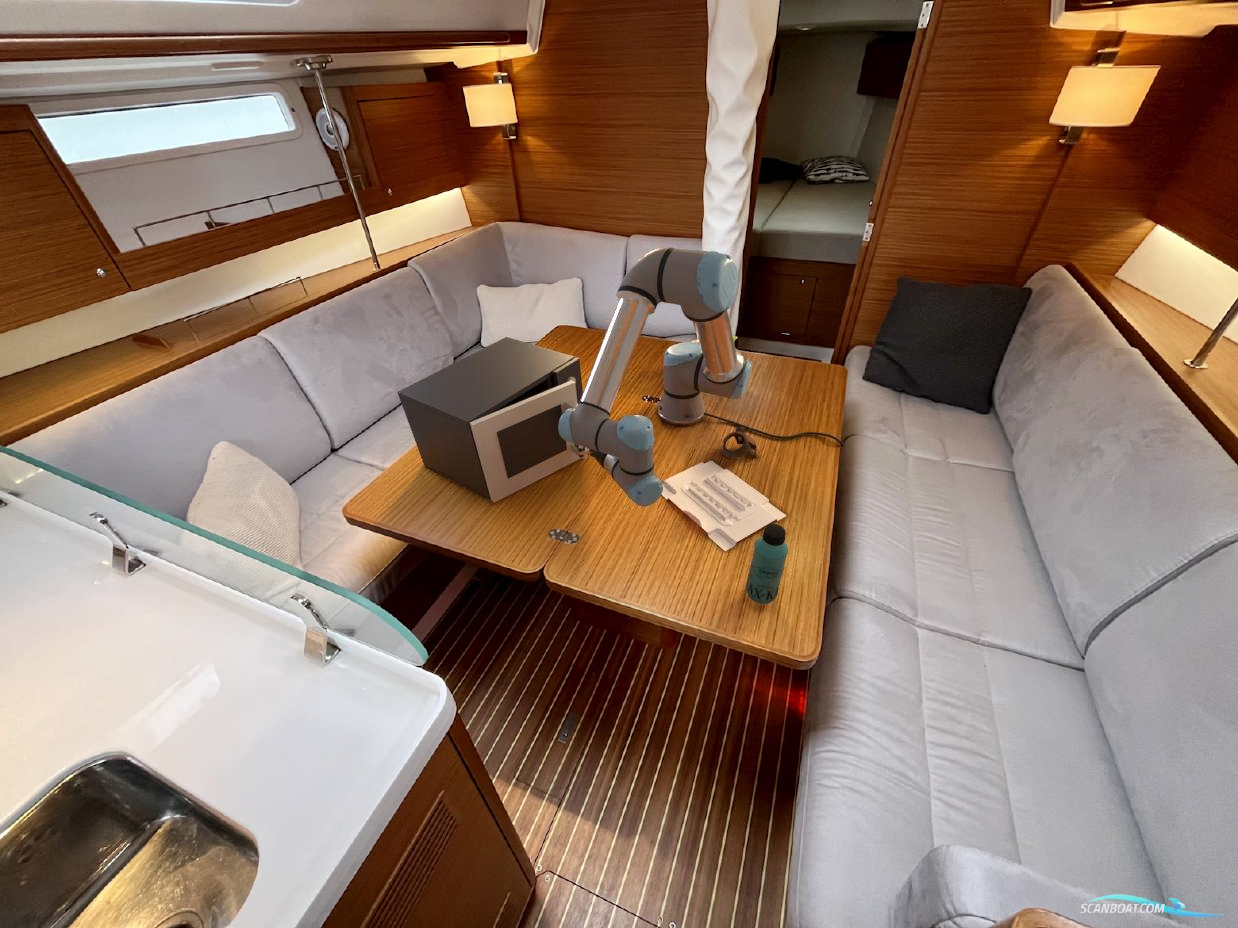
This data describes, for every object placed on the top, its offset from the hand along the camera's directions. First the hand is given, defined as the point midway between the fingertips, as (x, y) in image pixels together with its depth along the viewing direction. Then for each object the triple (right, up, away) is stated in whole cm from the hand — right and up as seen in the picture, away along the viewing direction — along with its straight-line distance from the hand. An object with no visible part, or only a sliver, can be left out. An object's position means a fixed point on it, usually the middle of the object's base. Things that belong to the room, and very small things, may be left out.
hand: (574, 415), depth 134 cm
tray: (+38, -23, -6) cm, 44 cm away
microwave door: (-8, -18, +3) cm, 20 cm away
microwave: (-21, -8, +17) cm, 29 cm away
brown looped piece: (+47, -10, +10) cm, 49 cm away
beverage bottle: (+42, -41, -30) cm, 66 cm away
